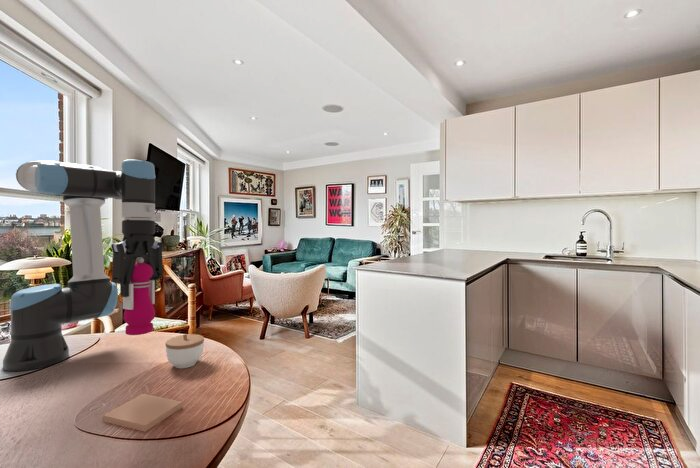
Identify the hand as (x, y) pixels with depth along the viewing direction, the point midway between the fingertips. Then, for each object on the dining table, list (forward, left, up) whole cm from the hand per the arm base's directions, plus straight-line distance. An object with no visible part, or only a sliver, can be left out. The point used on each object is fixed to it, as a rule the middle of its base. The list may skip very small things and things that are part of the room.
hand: (139, 306), depth 90 cm
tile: (+7, -10, -21) cm, 24 cm away
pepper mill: (0, 0, -7) cm, 7 cm away
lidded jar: (+1, +15, -22) cm, 26 cm away
